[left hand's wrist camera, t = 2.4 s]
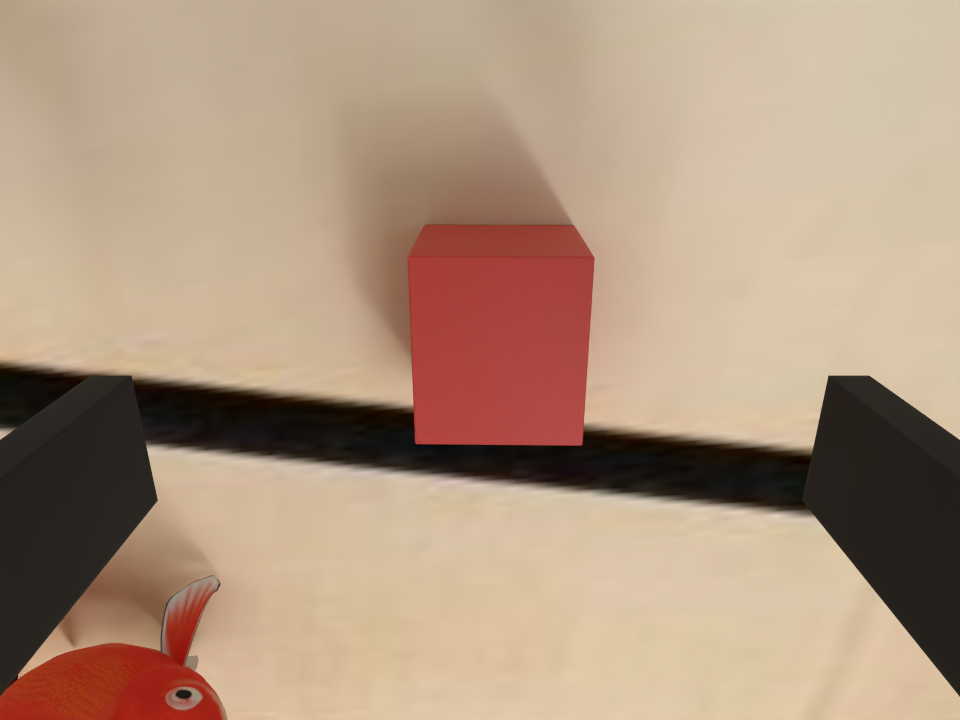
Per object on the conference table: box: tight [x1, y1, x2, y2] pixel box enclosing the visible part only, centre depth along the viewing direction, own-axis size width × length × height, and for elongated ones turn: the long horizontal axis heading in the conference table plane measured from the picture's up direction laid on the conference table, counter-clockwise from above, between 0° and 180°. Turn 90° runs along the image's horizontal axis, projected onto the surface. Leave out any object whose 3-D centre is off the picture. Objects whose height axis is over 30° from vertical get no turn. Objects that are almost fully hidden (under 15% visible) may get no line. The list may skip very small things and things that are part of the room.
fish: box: [0, 575, 227, 720], centre depth 22 cm, size 11×16×10 cm
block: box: [408, 225, 594, 445], centre depth 19 cm, size 5×4×4 cm
